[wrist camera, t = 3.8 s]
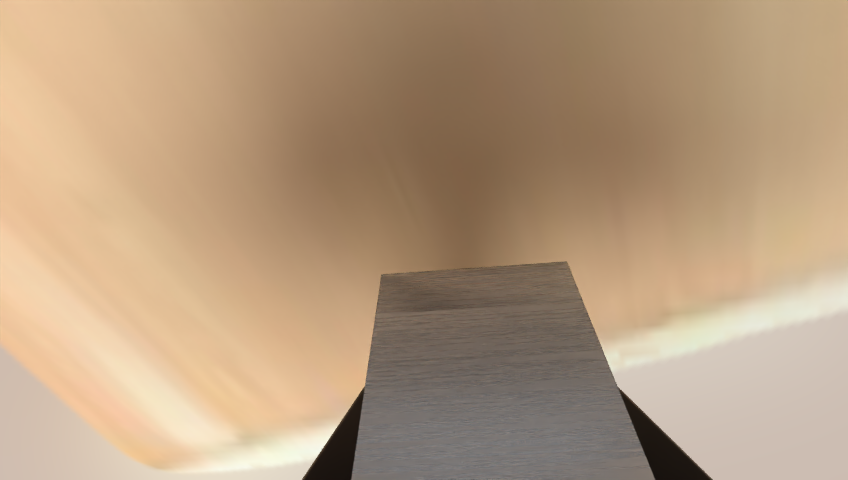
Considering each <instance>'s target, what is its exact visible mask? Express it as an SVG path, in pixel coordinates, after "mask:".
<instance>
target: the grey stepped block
mask: <svg viewBox="0 0 848 480" xmlns="http://www.w3.org/2000/svg"><path fill="white" fill-rule="evenodd" d="M351 480H655V478H654V476H653V473H652V471H651V468H650V466H649V463H648V461H647V458H646V456H645V454H644V451H643V449H642V446H641V444H640V441H639V439H638V436H637V434H636V431H635V429H634V426H633V424H632V421H631V419H630V416H629V414H628V412H627V409H626V407H625V404H624V402H623V399H622V397H621V394H620V392H619V389H618V387H617V384H616V382H615V380H614V377H613V375H612V372H611V370H610V367H609V365H608V362H607V360H606V357H605V355H604V352H603V350H602V347H601V345H600V342H599V340H598V337H597V335H596V333H595V330H594V328H593V325H592V323H591V320H590V318H589V315H588V313H587V310H586V308H585V305H584V303H583V300H582V298H581V295H580V293H579V291H578V288H577V286H576V283H575V281H574V278H573V276H572V273H571V271H570V268H569V266H568V263H567V262H554V263H539V264H525V265H511V266H497V267H482V268H468V269H454V270H440V271H426V272H411V273H397V274H383V275H381V282H380V288H379V295H378V302H377V309H376V315H375V322H374V329H373V336H372V343H371V349H370V356H369V363H368V370H367V376H366V383H365V390H364V397H363V404H362V410H361V417H360V424H359V431H358V438H357V444H356V451H355V458H354V465H353V471H352V478H351Z"/></svg>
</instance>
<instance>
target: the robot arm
mask: <svg viewBox="0 0 848 480" xmlns="http://www.w3.org/2000/svg"><path fill="white" fill-rule="evenodd" d="M618 389H619V388H618ZM364 390H365V387H364V388H363V389H362V391H361V392H360V394H359V395H358V397H357V398H356V400H355V401H354V403H353V404H352V406H351V407H350V409H349V410H348V412H347V413H346V415H345V416H344V418H343V419H342V421H341V422H340V424H339V425H338V427H337V428H336V430H335V431H334V433H333V434H332V436H331V437H330V439H329V440H328V442H327V443H326V445H325V446H324V448H323V449H322V451H321V452H320V454H319V455H318V457H317V458H316V460H315V461H314V463H313V464H312V465H311V467H310V468H309V470H308V472H307V473H306V475H305V476H304V477H303V479H302V480H351V478H352V471H353V465H354V458H355V451H356V444H357V438H358V431H359V424H360V417H361V410H362V404H363V397H364ZM619 392H620V394H621V397H622V399H623V402H624V404H625V407H626V409H627V412H628V414H629V416H630V419H631V421H632V424H633V426H634V429H635V431H636V434H637V436H638V439H639V441H640V444H641V446H642V449H643V451H644V454H645V456H646V458H647V461H648V463H649V466H650V468H651V471H652V473H653V476H654V478H655V480H713V479H711V477H709V476H708V475H707V474H706V473H705V472H704V471H703V470H702V469H701V468H700V467H699V466H698V465H697V464H696V463H695V462H694V461H693V460H692V459H691V458H690V457H689V456H688V455H687V454H686V453H685V452H684V451H683V450H682V449H681V448H680V447H679V446H678V445H677V444H676V443H675V442H674V441H673V440H672V439H671V438H670V437H669V436H668V435H666V433H664V432H663V431H662V430H661V429H660V428H659V427H658V426H657V425H656V424H655V423H654V422H653V421H652V420H651V419H650V418H649V417H648V416H647V415H646V414H645V413H644V412H643V411H642V410H641V409H640V408H639V407H638V406H637V405H636V404H635V403H634V402H633V401H632V400H631V399H630V398H629V397H628V396H627V395H626V394H624V392H623V391H622V390H620V389H619Z"/></svg>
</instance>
